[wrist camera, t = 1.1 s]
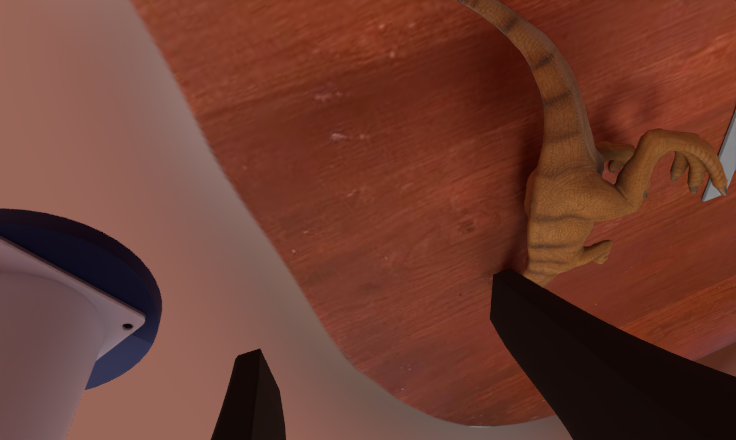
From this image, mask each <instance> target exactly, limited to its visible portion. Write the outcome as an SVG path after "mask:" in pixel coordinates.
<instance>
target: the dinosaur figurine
mask: <svg viewBox="0 0 736 440" xmlns="http://www.w3.org/2000/svg"><path fill="white" fill-rule="evenodd" d="M458 1H459V2H460V3H462V4H463V5H465V6H467V7H469V8H470V9H472V10H473V11H475V12H476V13H478V14H480V15H481V16H483V17H484V18H485V19H487V20H488V21H489V22H491V23H492V24H493V25H494V26H496V27H497V28H498V29H499V30H500V31H501V32H502V33H504V34H505V35H506V36H507V37H508V38H509V39H510V40H511V41H512V43H513V44H514V45H515V46H516V47H517V48H518V49H519V50H520V51H521V53H522V54H523V56H524V57H525V59H526V61H527V62H528V64H529V67H530V69H531V71H532V74H533V76H534V78H535V81H536V83H537V86H538V88H539V90H540V95H541V99H542V104H543V111H544V139H543V142H542V144H543V145H542V150H541V154H540V158H539V162H538V165H537V168H536V169H535V170H533V171H532V172H531V174H530V176H529V177H528V181H527V186H526V197H525V202H524V208H525V212H526V213H527V215H528V223H527V250H528V257H527V260H526V262H525V264H524V265H523V267H522V268H521V270H520V271H519V274H521V275H523V276H525V277H526V278H528V279H530V280H531V281H533V282H535V283H536V284H538V285H540V286H541V287H543V288H544V287H545V286H546V285H547V284H548V283H549V282H550V281H551V280H552V279H553V278H554V277H555V276H556V275H557V274H558V273H561V272H565V271H568V270H570V269H571V268H573V267H576V266H580V265H583V264H586V263H588V262H590V261H592V260H593V262H595V263H599V264H603V263H604V262H605V261H606V260H607V258H608V254H609V252H610V249H611V246H612V244H613V243H612V240H604V241H601V242H599V243H597V244H593V245H592V246H589V247H583V244H584V242H585V240H586V239H587V237H588V235H589V234H590V232H591V230H592V228H593V225H594V222H600V221H607V220H612V219H615V218H619V217H621V216H624V215H628V214H631V213H633V212H635V211H636V210H637V209H638V208H639V206H640V205H641V202H642V198H646V197H647V190H648V188H649V187H650V176H651V174H652V171H653V167H654V165H655V163H656V162H657V161H658V159H659V158H660V157H661V156H662V155H664V154H665V153H667V152H668V151H675V154H676V155H675V159H674V161H673V164H672V167H671V170H670V173H671V181H675V180H676V179H677V177H678V176H681V175H682V174H684V172H685V170H686V168H687V167H688V165H689V172H688V181H687V183H688V186H689V189H690V191H691V192H692V193H694V194H696V193H697V190H698V188H699V186H700V185H701V184H702V182H703V175H704V173H705V172H706V171H707V172H708V173H709V177H710V180H711V183H712V185H713V187H715V188H716V189H717V190H718V191H719V192H720V194H722V195H724V196H725V195H727V183H728V180H727V178H726V175H725V172H724V169H723V166H722V164H721V162H720V160H719V158H718V155H717V154H716V152H715V150H714V148H713V147H712V146H711V145H710V144H709V143H708V142H707V141H705V140H702V139H701V138H700V137H699V135H697V134H695V133H687V132H677V131H669V130H664V129H659V128H658V129H654V130H648V131H647V132H646V133H645V134H644V135H642V136H641V138H640V140H639V143H638V145H637V148H635V147H634V146H633V145H631V144H622V143H620V144H611V143H608V142H607V141H601V142H596V143H594V139H593V135H592V131H591V128H590V125H589V120H588V115H587V111H586V107H585V105H584V102H583V98H582V95H581V92H580V89H579V87H578V84H577V81H576V79H575V76H574V74H573V72H572V70H571V68H570V66H569V64H568V63H567V61H566V60H565V58H564V57H563V55H562V54H561V53H560V51H559V50H558V49H557V47H556V46H555V45H554V43H553V42H552V41H551V40H550V39H549V38H548V37H547V36H546V35H545V34H544V33H543V32H541V31H540V30H539V29H538V28H536V27H535V26H534V25H532V24H531V23H529V22H528V21H527V20H526V19H524V18H523V17H522V16H520V15H519V14H517V13H516V12H515V11H513V10H512V9H511V8H509V7H507V6H506V5H504V4H503V3H501V2H500V1H498V0H458ZM609 160H613V161H612V162H611V163H610V167H609V170H610V172H611V173H614V171H615V170H620V168H621V167H622V166H624V167H623V169H622V170H621V172H620V173H619V174H618V176H617V180H616V183H615V184H614V185H612V184H611V183H609V182H608V181H606V180H604V179H603V178H602V173H603V170H604V162H606V161H609Z"/></svg>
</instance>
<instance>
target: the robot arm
mask: <svg viewBox="0 0 736 440" xmlns="http://www.w3.org/2000/svg"><path fill="white" fill-rule="evenodd" d="M145 318H146V316H145V314H144V313H143V312H141V311H139V310H138V309H136V308H134V307H132V306H130V305H128V304H126V303H125V302H123V301H121V300H119V299H117V298H115V297H113V296H112V295H110V294H108V293H106V292H104V291H102V290H101V289H99V288H97V287H95V286H93V285H91V284H89V283H88V282H86V281H84V280H82V279H80V278H78V277H76V276H75V275H73V274H71V273H69V272H67V271H65V270H63V269H62V268H60V267H58V266H56V265H54V264H52V263H51V262H49V261H47V260H45V259H43V258H41V257H39V256H38V255H36V254H34V253H32V252H30V251H28V250H26V249H25V248H23V247H21V246H19V245H17V244H15V243H13V242H12V241H10V240H8V239H6V238H4V237H2V236H0V440H65V439H66V437H67V434H68V431H69V429H70V426H71V424H72V421H73V419H74V416H75V414H76V411H77V408H78V406H79V403H80V401H81V398H82V395H83V393H84V390H85V388H86V385H87V382H88V380H89V377H90V375H91V372H92V369H93V367H94V364H95V362H96V360H98V359H99V358H100V357H102V356H103V355H104V354H106V353H107V352H108V351H109V350H111V349H112V348H113V347H115V346H116V345H117V344H119V343H120V342H121V341H122V340H124V339H125V338H126V337H128V336H129V335H130V334H132V333H133V332H134V331H135V330H137V329H138V328H139V327H141V326H142V325H143V324H144V322H145ZM490 320H491V322H492V324H493V325H494V327H495V329H496V331H497V333H498V334H499V336H500V338H501V339H502V341H503V343H504V344H505V346H506V348H507V349H508V350H509V352H510V353H511V355H512V356H513V357H514V359H515V360H516V361H517V363H518V364H519V365H520V367H521V368H522V369H523V371H524V372H525V373H526V375H527V376H528V377H529V379H530V380H531V381H532V383H533V384H534V385H535V386H536V388H537V389H538V390H539V392H540V393H541V394H542V396H543V397H544V398H545V400H546V401H547V402H548V404H549V405H550V406H551V408H552V409H553V410H554V412H555V413H556V414H557V416H558V417H559V419H560V420H561V421H562V423H563V424H564V426H565V427H566V429H567V430H568V432H569V433H570V435H571V437H572V438H573V440H736V377H735V376H732V375H729V374H726V373H723V372H720V371H718V370H715V369H713V368H710V367H707V366H704V365H702V364H699V363H696V362H694V361H691V360H689V359H686V358H684V357H681V356H679V355H676V354H674V353H671V352H669V351H667V350H664V349H662V348H660V347H657V346H655V345H653V344H650V343H648V342H646V341H644V340H641V339H639V338H637V337H635V336H633V335H631V334H628V333H626V332H624V331H622V330H620V329H618V328H616V327H614V326H612V325H610V324H608V323H606V322H604V321H602V320H600V319H598V318H597V317H595V316H593V315H591V314H589V313H587V312H585V311H583V310H582V309H580V308H578V307H576V306H574V305H573V304H571V303H569V302H567V301H566V300H564V299H562V298H560V297H559V296H557V295H555V294H553V293H552V292H550V291H548V290H547V289H545V288H543V287H541V286H540V285H538V284H536V283H535V282H533V281H531V280H530V279H528V278H526V277H525V276H523V275H521V274H519V273H518V272H516V271H514V270H512V269H509V270H506V271H503V272H499V273H496V274H493V286H492V299H491V312H490ZM125 323H129V324H131V325H127V324H125ZM211 440H286V434H285V422H284V416H283V409H282V403H281V396H280V390H279V388H278V386H277V384H276V381H275V379H274V377H273V375H272V373H271V371H270V369H269V367H268V364H267V362H266V360H265V358H264V356H263V354H262V352H261V349H257V350H254V351H251V352H247V353H245V354H241V355H238V356H237V358H236V359H235V363H234V367H233V371H232V375H231V378H230V382H229V386H228V389H227V392H226V396H225V399H224V402H223V406H222V408H221V412H220V415H219V417H218V421H217V423H216V426H215V429H214V432H213V435H212V438H211Z"/></svg>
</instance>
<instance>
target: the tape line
mask: <svg viewBox="0 0 736 440" xmlns="http://www.w3.org/2000/svg"><path fill="white" fill-rule="evenodd" d="M718 158H719V160H720V162H721V164H722V166H723V169H724V172H725V175H726V178H727V180H728V183H727V188H728V186H729V183H730V181H731V178H732V176H733V174H734V171H735V169H736V110H735V113H734V115H733V118H732V121H731V123H730V126H729V129H728V131H727V134H726V137H725V139H724V142H723V145H722V147H721V150H720V153H719V155H718ZM720 195H722V194H720V192H719V191H718V190H717V189H716V188H715V187H713V185H712V183H711V180H710V179H709V182H708V184H707V187H706V190H705V192H704V195H703V198H702V201H707V200H709V199H712V198H715V197H718V196H720Z"/></svg>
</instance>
